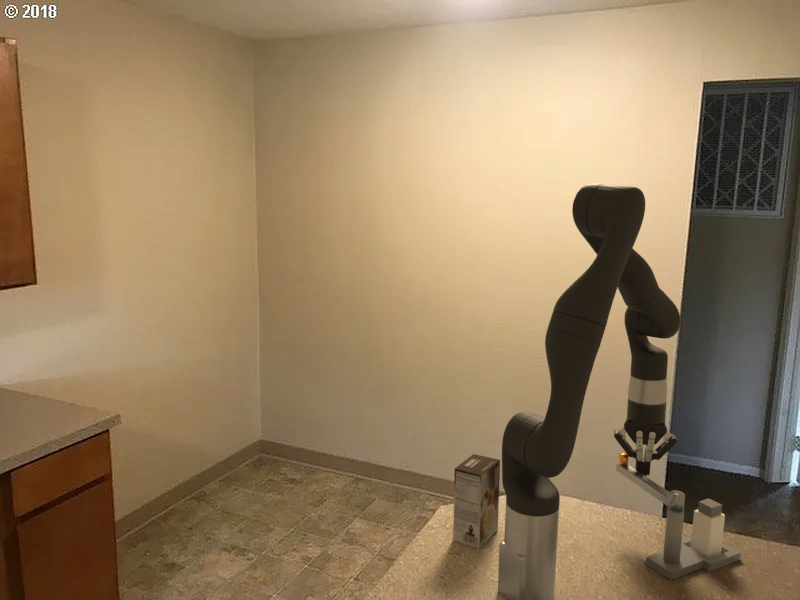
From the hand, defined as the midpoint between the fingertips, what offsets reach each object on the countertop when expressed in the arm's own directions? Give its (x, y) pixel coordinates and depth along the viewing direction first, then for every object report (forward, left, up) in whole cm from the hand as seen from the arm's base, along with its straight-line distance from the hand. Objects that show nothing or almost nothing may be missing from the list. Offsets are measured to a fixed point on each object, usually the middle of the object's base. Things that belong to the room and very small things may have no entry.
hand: (642, 476), depth 144 cm
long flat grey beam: (-4, -5, 0) cm, 7 cm away
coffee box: (-33, +14, -12) cm, 37 cm away
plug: (+4, -13, -12) cm, 19 cm away
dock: (0, -13, -12) cm, 18 cm away
